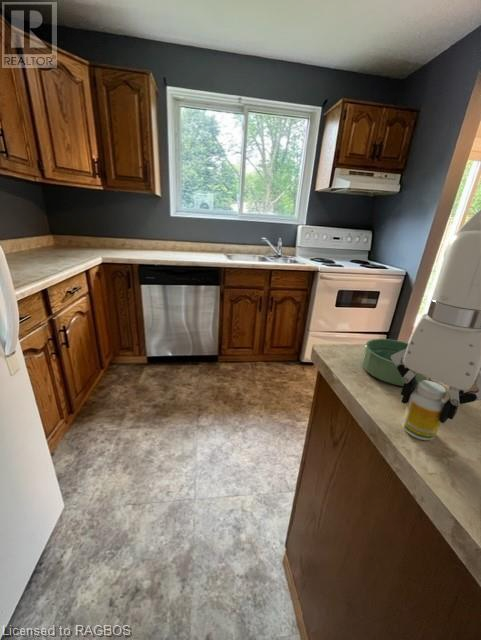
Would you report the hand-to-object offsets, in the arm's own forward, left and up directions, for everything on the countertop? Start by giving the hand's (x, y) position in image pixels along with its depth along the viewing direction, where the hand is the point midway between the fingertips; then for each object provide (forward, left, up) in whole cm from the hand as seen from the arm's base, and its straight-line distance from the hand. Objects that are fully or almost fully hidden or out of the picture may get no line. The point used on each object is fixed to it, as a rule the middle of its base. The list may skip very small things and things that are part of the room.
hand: (424, 408), depth 48 cm
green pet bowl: (-18, -13, -5) cm, 23 cm away
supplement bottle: (0, 0, -5) cm, 5 cm away
